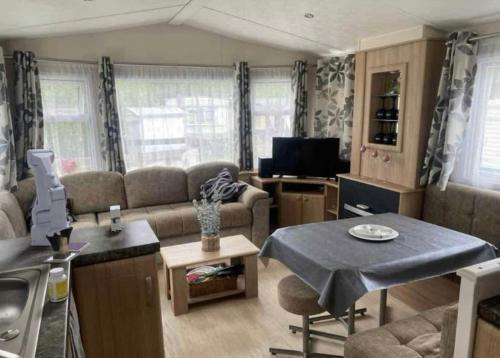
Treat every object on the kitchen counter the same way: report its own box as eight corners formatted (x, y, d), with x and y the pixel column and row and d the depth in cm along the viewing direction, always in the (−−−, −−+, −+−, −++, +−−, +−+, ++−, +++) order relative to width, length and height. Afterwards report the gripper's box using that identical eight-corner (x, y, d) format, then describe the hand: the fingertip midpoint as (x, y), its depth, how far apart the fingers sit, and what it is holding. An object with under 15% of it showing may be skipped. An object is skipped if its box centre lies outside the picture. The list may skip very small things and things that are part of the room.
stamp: (53, 259, 152) (51, 240, 150) (59, 254, 157) (57, 236, 155) (65, 259, 152) (63, 240, 150) (71, 254, 157) (69, 236, 155)
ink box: (111, 227, 196) (109, 205, 194) (121, 226, 198) (119, 205, 196) (111, 232, 188) (109, 209, 186) (121, 231, 190) (120, 208, 188)
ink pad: (57, 252, 160) (56, 249, 160) (68, 244, 170) (68, 241, 169) (80, 252, 160) (79, 249, 159) (90, 244, 169) (90, 241, 169)
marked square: (43, 262, 149) (43, 261, 149) (56, 253, 159) (56, 252, 159) (67, 262, 149) (67, 261, 149) (79, 253, 159) (79, 252, 159)
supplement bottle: (71, 294, 123) (68, 266, 121) (63, 302, 117) (61, 273, 116) (54, 294, 123) (52, 266, 121) (46, 302, 117) (43, 273, 116)
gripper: (58, 220, 144) (61, 254, 146) (76, 211, 158) (79, 241, 161) (40, 220, 144) (44, 253, 146) (60, 211, 158) (62, 241, 161)
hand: (61, 247), depth 154 cm, fingers open, 7 cm apart
